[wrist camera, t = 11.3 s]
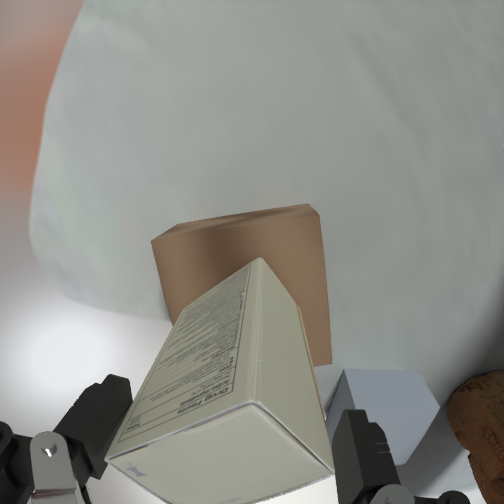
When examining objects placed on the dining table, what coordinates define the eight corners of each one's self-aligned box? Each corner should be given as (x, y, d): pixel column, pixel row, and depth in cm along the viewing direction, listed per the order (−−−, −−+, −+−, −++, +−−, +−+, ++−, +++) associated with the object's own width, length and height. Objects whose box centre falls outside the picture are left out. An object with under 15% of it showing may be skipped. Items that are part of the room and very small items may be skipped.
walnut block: (308, 203, 23) (319, 215, 17) (321, 323, 26) (332, 363, 20) (179, 223, 24) (150, 241, 18) (205, 336, 27) (188, 377, 21)
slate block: (417, 369, 26) (440, 407, 20) (390, 425, 28) (404, 464, 23) (343, 367, 27) (356, 411, 21) (323, 426, 29) (329, 468, 23)
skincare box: (223, 355, 20) (189, 520, 8) (179, 306, 19) (96, 460, 8) (304, 306, 19) (342, 478, 7) (261, 249, 18) (253, 400, 6)
